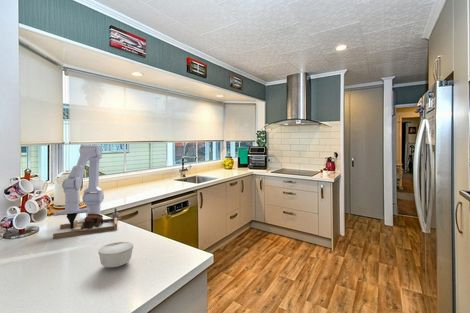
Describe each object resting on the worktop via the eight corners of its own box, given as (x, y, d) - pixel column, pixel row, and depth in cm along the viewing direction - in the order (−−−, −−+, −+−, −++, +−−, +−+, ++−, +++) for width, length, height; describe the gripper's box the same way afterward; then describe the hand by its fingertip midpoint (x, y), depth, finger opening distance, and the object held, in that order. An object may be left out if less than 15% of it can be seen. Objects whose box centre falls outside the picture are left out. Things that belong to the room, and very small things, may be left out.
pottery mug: (76, 229, 117) (82, 213, 121) (94, 232, 124) (99, 217, 128) (90, 227, 112) (95, 211, 116) (107, 231, 119) (112, 215, 123)
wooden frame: (61, 227, 120) (60, 213, 120) (118, 220, 133) (118, 207, 133) (53, 238, 104) (53, 221, 104) (119, 229, 117) (119, 214, 117)
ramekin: (125, 252, 89) (124, 239, 89) (139, 260, 82) (139, 246, 82) (93, 262, 80) (93, 248, 80) (106, 273, 73) (105, 256, 73)
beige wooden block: (75, 227, 120) (75, 219, 120) (82, 226, 121) (82, 218, 121) (72, 233, 110) (72, 224, 110) (80, 232, 111) (80, 223, 111)
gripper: (52, 204, 107) (52, 233, 107) (88, 201, 114) (88, 228, 114) (55, 201, 114) (55, 228, 114) (89, 199, 120) (89, 224, 120)
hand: (72, 228), depth 114 cm, fingers closed
